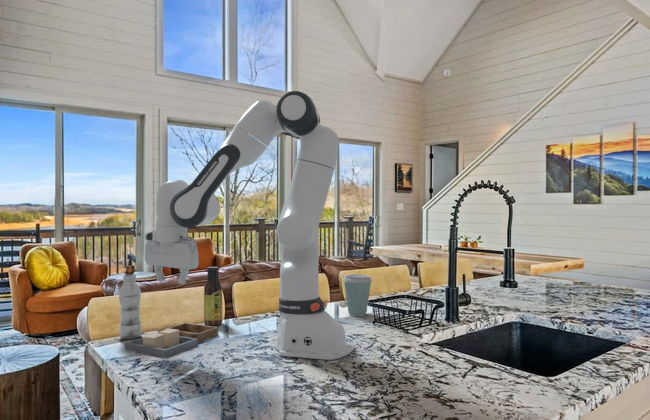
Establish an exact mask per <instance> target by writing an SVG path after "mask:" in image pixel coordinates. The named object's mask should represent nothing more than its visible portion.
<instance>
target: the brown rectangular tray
mask: <svg viewBox="0 0 650 420" xmlns="http://www.w3.org/2000/svg"><path fill="white" fill-rule="evenodd" d="M166 329H176V330H179V336H183V337H189V338H195V339H198V343H200V342H203V341H206V340H209V339H211V338H214V337H217V336H219V327H218V326H211V325H205V324H197V323H188V322H183V323H180V324H177V325H174V326H171V327H170V326H169V327H167V328H164V329H163V330H166Z"/></svg>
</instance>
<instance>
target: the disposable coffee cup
mask: <svg viewBox="0 0 650 420" xmlns="http://www.w3.org/2000/svg"><path fill="white" fill-rule="evenodd" d="M343 283H344V290H345V291H344V292H345V298H346V303H347V312H348V314H349V316H351V317H352V316H353V317H363V316H364V317H365V316H366V314H367V312H368V304H369V298H370V292H371V291H370V290H371V284H372V278H371V276H370V275H367V274H358V273H357V274H356V273H355V274H354V273H353V274H352V273H351V274H347V273H346V274H344V277H343Z"/></svg>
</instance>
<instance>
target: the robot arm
mask: <svg viewBox="0 0 650 420" xmlns="http://www.w3.org/2000/svg"><path fill="white" fill-rule="evenodd" d="M279 134H282V135H286V136H289V137H292V138H294V139H298V140H299V142H300V145H299V147H300V148H299V152H298V155H297V156H298V157H297V160H296V162H295V167H294V171H293V174H292V178H291V182H290V186H289V189H288V191H287V195H286V197H285V199H284V203H283V206H282V208H281V212H280V216H279V218H278V222H277V226H276V237H277V239H278V242H279V243H280V244H281V250H280V251H281V252H280V253H281V254H280V255H281V256H280V266H279V286H280V287H279V292H280V293H279V296H280V297H279V298H278V312H279V326H278V334H277V340H276V343H275V350H276V351H278V352H279V356H281V357H291V358H293V357H294V358H304V359H313V360H314V359H316V360H327V361H333V360H337V359H340V358H344V357H346V356H347V355H350V354H351V353H352V352H353V351H354V349H355V345H354V343H353V342H351V341H350V342H349V341H347V339H346V338H347V337H346V332H345V331H346V330H345V329H344V326H343V325H342V324H341V323H339V322H338V321H337V320H336V319H335V318H334V317H333V316H332V315H330V314H329V312H327V311H326V310H325V306H326V305H327V304H328V303H327V302H328V300H327V299H326V300H323V299H322V298H321V296H320V293H319V292H320V291H319V289H320V285H319V262H320V261H319V258H320V257H319V254H320V253H319V251H320V250H319V243H320V242H319V241H320V240H319V239H320V236H319V232H320V231H319V225H320V222H321V219H322V215H323V212H324V209H325V205H326V202H327V198H328V195H329V190H330V187H331V184H332V180H333V176H334V173H335V168H336V164H337V159H338V154H339V142H340V141H339V135H338V134H337V132H336V131H335V130H333V129H332V128H330V127H327V126H324V125H322V124H321V117H320V113H319V111H318V108H317V106H316V104H315V103H314V102H313V99H312V98H311V96H309V95H308V94H306V93H305V92H303V91H301V90H300V91H299V90H291V91H288V92H286V93H284V94H283V95H282V96H281V97H280V98H279V99H278V101H277V105H276V104H274V103H273V102H271V101H268V100H264V99H263V100H262V99H260V100H257V101H256V102H254V103H253V104H252V105H250V107H249V108H248V109H247V110H246V111H245V112H244V114H243V115H242V116H241V117H240V119H238V121H237V122H236V124H235V125H234V127H233V128H232V130H231V131H230V132H229V134H228V135H227V137H226V139H225V140H224V142H223V143H222V144H221V145H220V147H219V148H218V150H217V151H216V152H215V153H214V155H213V156H212V157H211V158H210V159H209V161H208V162H207V163H206V164H205V166H204V167H203V168H202V170H201V171H200V172H199V173H198V174H197V176H196V177H195V179H193V181H192V182H191V183H190V184H188V182H186V181H184V180H178V179H176V180H167V181H165V182H163V183H161V184H159V186H158V188H157V191H156V192H157V193H156V203H155V210H156V211H155V212H156V223H155V229H152V230H151V231H149V232H146V233H145V235H144V240H145V245H144V246H145V247H144V260H145V263H146V265H149V266H153V269H154V272H155V274H156V281H158V282H164V281H165V279H166V277H165V276H166V274H164V272H163V269H164V268H173V269H179V273H180V275H179V277H177V284H178V285H185V284H186V281H187V276H188V275H189V273H190V271H191V270H195V269H197V268H198V267H199V262H200V261H199V252H198V251H199V250H198V247H197V242H196V240H195V239H194V237H193V236H188V229H189V228H194V227H197V226H203V225H208V224H212V223H213V222H214V221H215V220H217V218H218V217H219V215H220V211H221V206H220V205H221V204H220V202H219V200H218V199H217V198H216V197H215V195H214V194H215V193H216V192H217V190H218V189H219V188H220V186H221V185H222V184H223V183H224V181H225V180H226V179H228V177H229V176H230V175H231V174H232V173H234V172H235V171H237V170H239V169H242V168H245V167H248V166H251V165H253V164H254V163H255V162H256V161H257V160H259V158H260V157H261V156H262V155H263V154H264V153H265V151H266V150H267V149H268V147H269V146H270V144H271V142H272V141H273V140H274V139H275V137H276V136H277V135H279Z"/></svg>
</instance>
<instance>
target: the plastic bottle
mask: <svg viewBox="0 0 650 420" xmlns="http://www.w3.org/2000/svg"><path fill="white" fill-rule="evenodd" d="M122 277H123V278H122V282H123V284H122V285H121V286H120V288H119V290H118V300H119V307H120V322H119V323H120V325H119V329H118V330H119V331H118V333H119V334H118V335H119V337H120V339H121V340H122V341H133V340H136V339H140V338H141V335H142V334H143V333H142V332H143V327H142V322H141V316H140V315H141V314H140V313H141V312H140V308H141V307H140V303H141V294H142V290H141V287H140V286H139V285H138V283H137V282H136V281H137V274H135V273H131V274H130V273H129V274H123V275H122Z"/></svg>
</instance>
